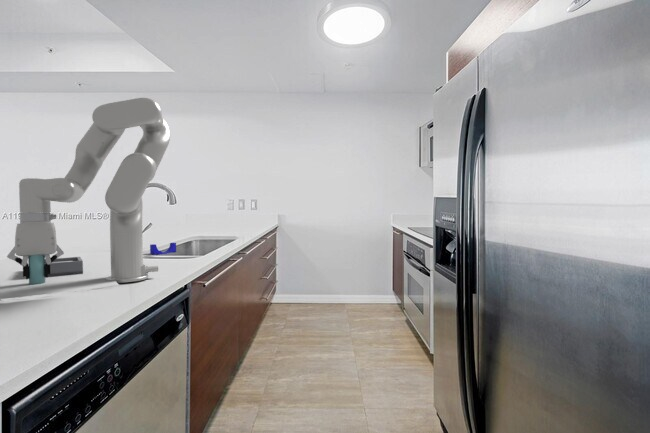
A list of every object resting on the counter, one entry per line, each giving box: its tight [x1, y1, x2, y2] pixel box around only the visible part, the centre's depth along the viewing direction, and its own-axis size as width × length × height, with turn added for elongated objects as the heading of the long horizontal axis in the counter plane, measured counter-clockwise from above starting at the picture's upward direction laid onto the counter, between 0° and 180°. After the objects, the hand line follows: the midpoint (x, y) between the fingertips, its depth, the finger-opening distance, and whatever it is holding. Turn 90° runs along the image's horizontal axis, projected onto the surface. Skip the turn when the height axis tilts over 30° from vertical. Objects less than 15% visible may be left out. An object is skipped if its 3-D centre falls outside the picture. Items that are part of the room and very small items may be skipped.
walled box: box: [45, 256, 84, 278], centre depth 134 cm, size 15×16×4 cm
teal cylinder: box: [27, 255, 46, 285], centre depth 115 cm, size 4×4×9 cm
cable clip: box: [149, 242, 177, 256], centre depth 184 cm, size 12×4×6 cm, turn 143°
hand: (37, 277), depth 115 cm, fingers closed on teal cylinder, 4 cm apart
